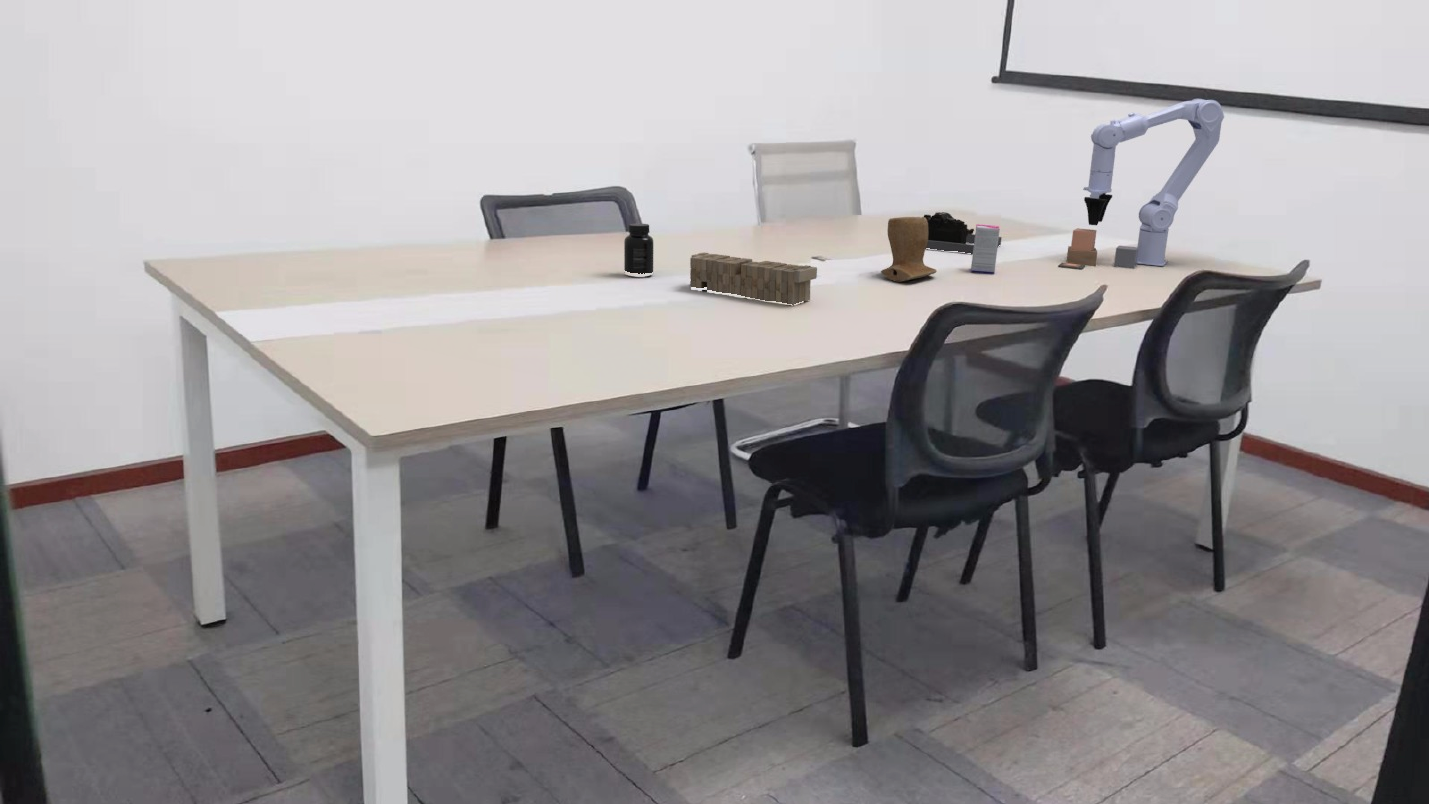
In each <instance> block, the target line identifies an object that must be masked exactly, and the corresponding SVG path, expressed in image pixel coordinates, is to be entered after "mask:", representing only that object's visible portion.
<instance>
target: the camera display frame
mask: <svg viewBox="0 0 1429 804" xmlns="http://www.w3.org/2000/svg"><path fill="white" fill-rule="evenodd" d="M974 241H975V234H974V233H973V234H971V235H970V234H968V235H967V237H966V242H969V243H966V244H961V243H951V242H941V241H931V240H928V242H927V246H926V248H930V249H937V250H944V251H958V252H965V253H971V254H970V255H972V254H973V249H974V244H972V243H974ZM999 245H1001V246H1002V236H999V239H998V246H999ZM999 247H1000V246H999ZM944 251H943V252H944Z"/></svg>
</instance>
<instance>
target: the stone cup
mask: <svg viewBox="0 0 1429 804" xmlns="http://www.w3.org/2000/svg"><path fill="white" fill-rule="evenodd" d="M887 238H888V241H889V246H890V250H891V255H892V263H891V265H890V266H888V267H886V268H884V269H882V270H880V273H881V274H882V275H883V277H885V278H886V279H889V280H890V281H892V280H895V281H894V282H897V281H899V282H907V281H911V280H916V279H920V278H921V279H922V278H923V277H927V276H931V275H935V274H936V273H937V269H936V268H932V267H930V266H928V265H925V263H924V256H925V251H926V250H925V249H926V246H927V242H928V222H927V219H926V218H925V217H924V216H903V217H901V216H899V217H892V218H889V219H888V222H887Z"/></svg>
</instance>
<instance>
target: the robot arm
mask: <svg viewBox="0 0 1429 804" xmlns="http://www.w3.org/2000/svg"><path fill="white" fill-rule="evenodd" d="M1127 115H1128V116H1127V117H1123V118H1120V119H1118V120H1115V119H1112V120H1110V123H1109V124H1105V123H1103V124H1102V123H1101V124H1100V125H1097V126H1096V128H1094V130H1093V132H1092V134H1091V135H1090V140H1091V142H1092V144H1093V145H1092V146H1093V147H1092V154H1091V162H1090V170H1089V171H1090V172H1089V179H1088V186H1084V187H1083V191H1087V192H1089V193H1090V194H1089V196H1085V197H1084V198H1083V199H1084V203H1085V205H1086V210H1087V221H1088V225H1089V226H1098V224H1099V223H1101V222H1102V221H1103V220H1104V216H1105V213H1106V210H1107V207H1108V205H1109V203H1110V201H1111V199H1113V195H1112V194H1109V193H1112V190H1113V189H1112V181H1113V176H1114V167H1115V158H1116V148H1117V146H1118V144H1119V143H1123V142H1126V141H1129V140H1133V139H1136V138H1139V137H1141V136H1144V135H1145V134H1146V133H1147V131H1148V129H1151V128H1153V127H1156V126H1159V125H1160V126H1161V125H1163V124H1167V123H1170V122H1173V121H1176V120H1185V121H1188V123H1189V125H1190V127H1192V130H1193V133H1194V137H1195V139H1194V141H1193V143H1192V144H1191V145H1190V147H1189V148H1188V150H1187V151H1186V153H1185V155H1183V157H1182V159H1180V160H1181V161H1180V162H1179V164H1177V166H1176V167H1175V169H1174V170H1173V172H1172V174H1171V175H1170V176H1169V178H1168V179H1167V181H1166V182H1165V183H1164V185H1163V186H1162V188H1161V190H1160V191H1159V192H1158V193H1156V194H1155V195H1153V196H1152V197H1151V199H1150V200H1149V201H1148V202H1147V203H1145V204H1144V205H1141V208H1140V209H1139V212H1138V219H1139V221H1140V222H1141V225H1140V227H1139V232H1138V240H1137V246H1136V247H1139V250H1138V257H1137V264H1136V265H1138V264H1139V265H1148V266H1157V267H1164V266H1165V265H1166V263H1167V262H1168V259H1166V258H1165V256H1166V251H1167V250H1166V249H1167V243H1168V236H1169V230H1170V227H1171V226H1172V224H1173V222H1174V219H1175V218H1174V217H1175V215H1176V213H1177V211H1178V208H1179V201H1180V200H1181V198H1182V196H1183V195H1184V193H1185V192H1186V191H1187V189H1188V187H1190V185H1191V183H1192V182H1193V181H1194V179H1195V177H1196V176H1197V174H1198V173H1199V172H1200V170H1201V168H1203V166H1204V164H1205V163H1206V161H1207V159H1209V157H1210V155H1212V153H1213V151H1214V149H1215V148H1216V146H1217V145H1218V143H1219V141H1220V137H1221V129H1222V122H1223V120H1224V118H1225V115H1224V112H1223V109H1222V105H1221V104H1220V103H1219V101H1217V100H1214V99H1207V100H1206V99H1203V98H1194V99H1191V100H1186V101H1182V102H1179V103H1176V104H1173V105H1171V106H1168V107H1166V108H1162V109H1160V110H1158V111H1155V112H1152V113H1150V114H1148V115H1142V114H1141V113H1135V112H1131V113H1128V114H1127Z"/></svg>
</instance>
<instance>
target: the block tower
mask: <svg viewBox="0 0 1429 804" xmlns="http://www.w3.org/2000/svg"><path fill="white" fill-rule="evenodd" d="M689 261H690V262H689V265H690V266H689V267H690V278H689V279H690V283H689V284H690V286H691V287H696V288H704V287H707V290H712V291H716V292H722V293H731V294H737V295H741V296H745V297H750V298H755V299H760V300H765V301H776V302H782V303H787V304H792V305H794V304H796V303H799V302H802V301H807V302H809V301H808V300H810V301H811V282H812V281H811V280H816V279H817V277H818V275H817V274H818V267H817V266H811V265H796V264H792V263H791V264H790V263H788V264H787V263H785V262H778V261H769V260H763V261H753V259H752V258H746V257H745V258H744V257H742V258H741V257H737V256H736V257H735V256H731V255H726V254H718V253H709V252H699V253H697V254H696V253H695V254H692V255H691V256H690V259H689ZM690 286H689V287H690ZM707 290H706V291H707Z"/></svg>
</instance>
